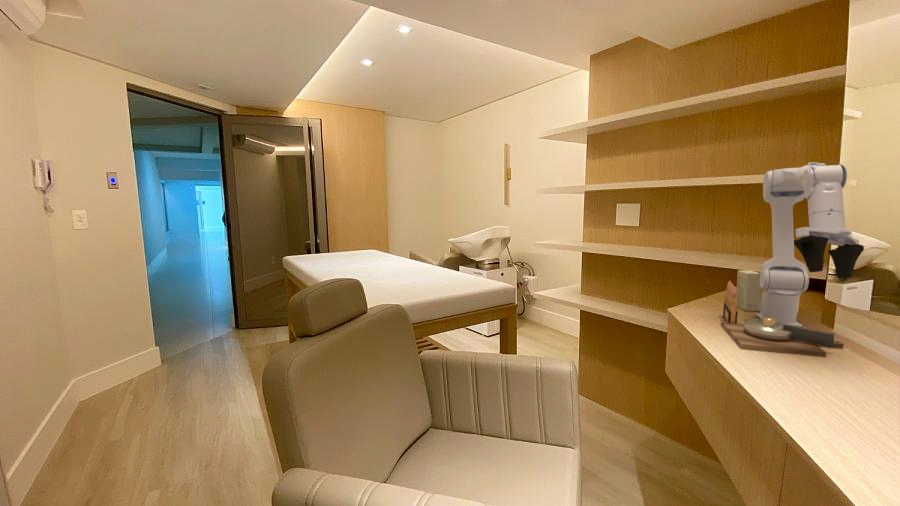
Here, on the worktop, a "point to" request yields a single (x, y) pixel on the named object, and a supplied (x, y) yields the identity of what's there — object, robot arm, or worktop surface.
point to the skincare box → (748, 290)
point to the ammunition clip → (730, 304)
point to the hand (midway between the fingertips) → (830, 274)
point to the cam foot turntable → (787, 332)
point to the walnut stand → (774, 342)
